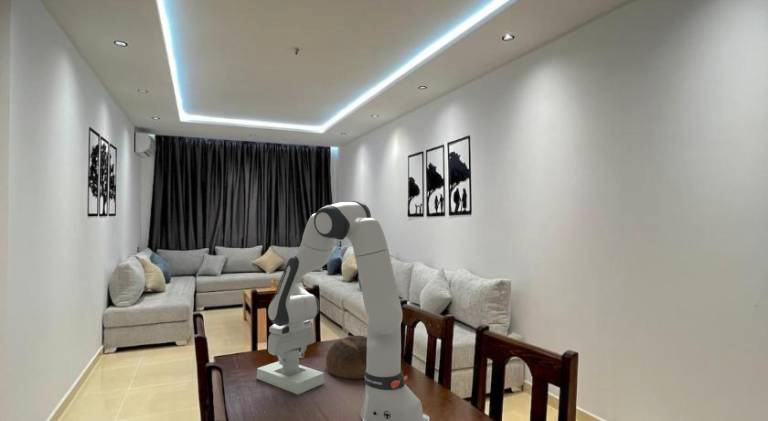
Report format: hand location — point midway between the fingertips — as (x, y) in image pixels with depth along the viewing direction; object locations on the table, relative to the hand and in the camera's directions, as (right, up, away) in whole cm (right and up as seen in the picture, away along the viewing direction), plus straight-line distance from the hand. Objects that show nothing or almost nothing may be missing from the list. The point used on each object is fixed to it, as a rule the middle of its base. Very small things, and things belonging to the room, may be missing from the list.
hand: (292, 360), depth 168 cm
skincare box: (-1, -8, 0) cm, 8 cm away
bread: (+24, -9, +14) cm, 29 cm away
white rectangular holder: (-1, -8, 0) cm, 8 cm away
